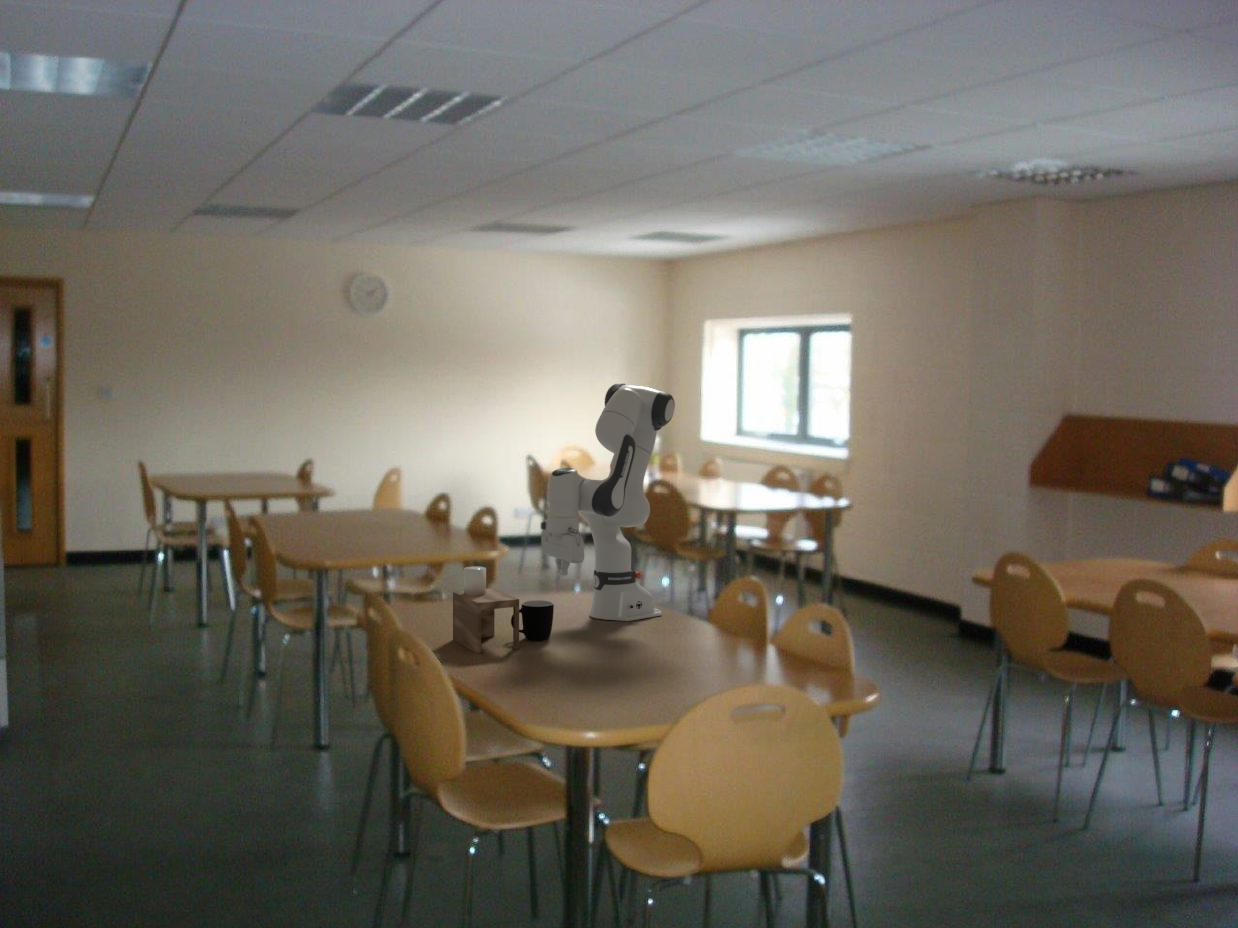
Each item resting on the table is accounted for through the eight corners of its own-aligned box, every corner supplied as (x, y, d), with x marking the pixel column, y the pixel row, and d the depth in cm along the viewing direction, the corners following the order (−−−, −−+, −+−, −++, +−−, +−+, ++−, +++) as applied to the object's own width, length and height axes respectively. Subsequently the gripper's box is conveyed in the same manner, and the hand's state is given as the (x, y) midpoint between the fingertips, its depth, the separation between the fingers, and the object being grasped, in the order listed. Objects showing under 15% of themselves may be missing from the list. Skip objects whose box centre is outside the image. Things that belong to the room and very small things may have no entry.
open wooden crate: (493, 635, 329) (493, 588, 328) (519, 648, 313) (519, 599, 312) (453, 639, 323) (453, 591, 322) (477, 653, 308) (477, 602, 307)
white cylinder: (480, 590, 324) (481, 565, 324) (489, 594, 319) (489, 569, 318) (460, 592, 321) (460, 567, 321) (468, 596, 316) (468, 570, 315)
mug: (549, 634, 331) (549, 599, 330) (556, 641, 322) (556, 605, 322) (507, 636, 328) (508, 601, 327) (513, 643, 319) (514, 607, 318)
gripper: (590, 529, 320) (589, 579, 321) (557, 521, 338) (556, 568, 338) (569, 530, 317) (568, 580, 318) (537, 522, 335) (537, 570, 335)
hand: (562, 574), depth 328 cm, fingers closed
